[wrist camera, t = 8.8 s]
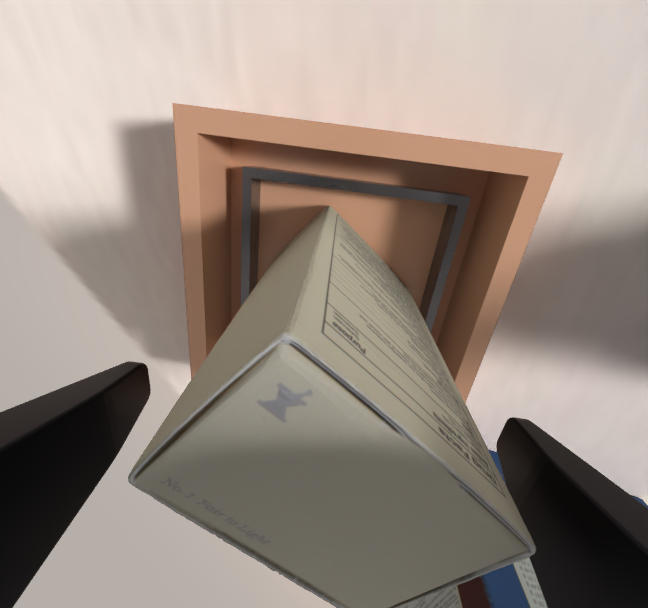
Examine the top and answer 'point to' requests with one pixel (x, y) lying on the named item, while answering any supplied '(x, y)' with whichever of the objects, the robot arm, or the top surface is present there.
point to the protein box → (493, 585)
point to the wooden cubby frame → (355, 215)
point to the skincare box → (336, 437)
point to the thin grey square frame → (454, 200)
